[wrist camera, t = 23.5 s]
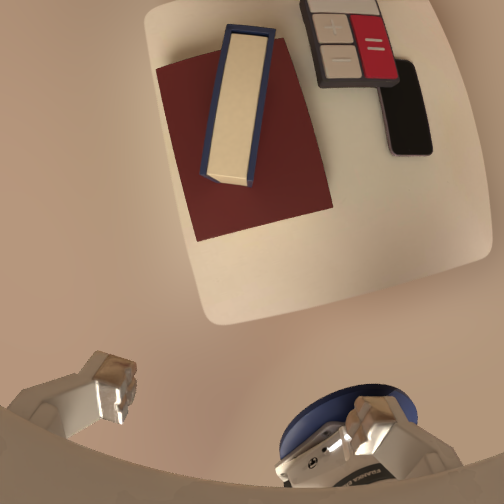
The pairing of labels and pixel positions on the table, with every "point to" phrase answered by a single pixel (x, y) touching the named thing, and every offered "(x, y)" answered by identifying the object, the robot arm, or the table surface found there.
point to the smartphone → (405, 114)
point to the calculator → (349, 43)
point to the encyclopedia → (268, 157)
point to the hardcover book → (237, 105)
